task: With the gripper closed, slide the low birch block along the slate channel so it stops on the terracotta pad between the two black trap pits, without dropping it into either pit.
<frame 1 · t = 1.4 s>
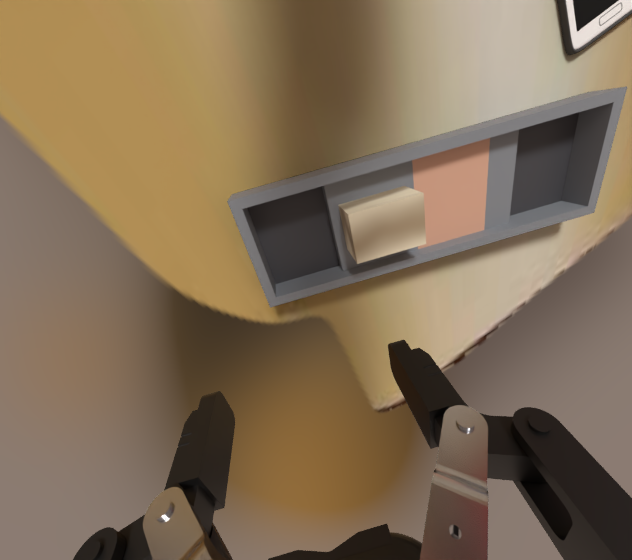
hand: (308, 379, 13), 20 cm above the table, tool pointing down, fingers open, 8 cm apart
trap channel: (415, 200, 31), on the table
birch block: (374, 218, 29), point 2 cm above the table, touching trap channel
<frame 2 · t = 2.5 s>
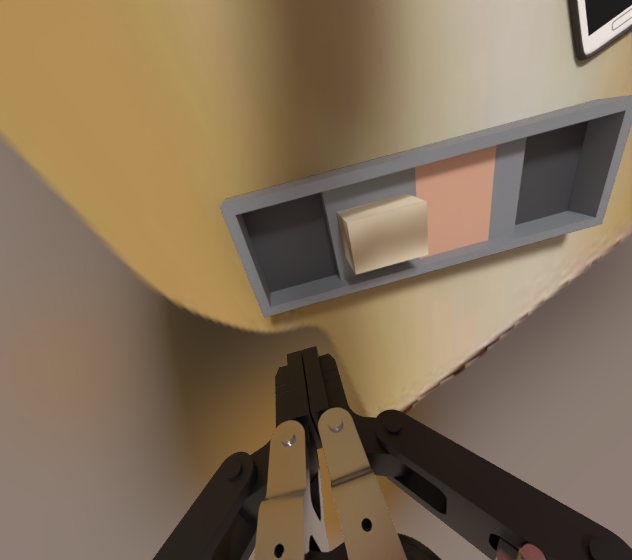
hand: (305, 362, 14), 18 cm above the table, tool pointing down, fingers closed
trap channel: (417, 208, 29), on the table
birch block: (374, 226, 28), point 2 cm above the table, touching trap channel
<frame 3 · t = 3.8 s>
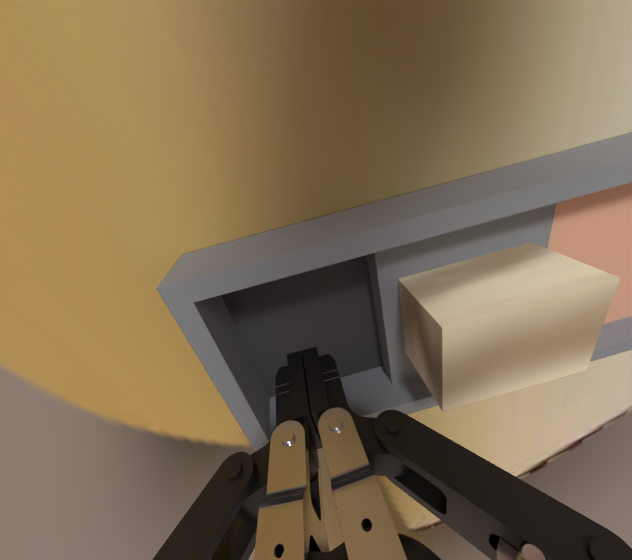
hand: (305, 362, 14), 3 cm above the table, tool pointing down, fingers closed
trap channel: (528, 259, 17), on the table
birch block: (463, 300, 15), point 2 cm above the table, touching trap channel
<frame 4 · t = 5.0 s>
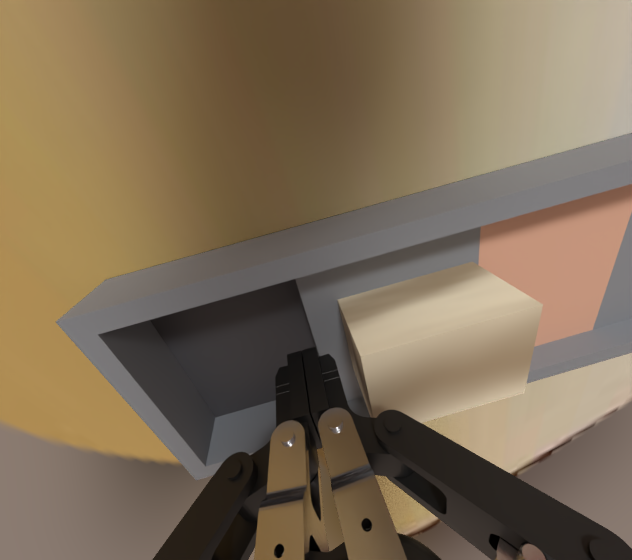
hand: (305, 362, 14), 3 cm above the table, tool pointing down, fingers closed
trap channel: (470, 278, 16), on the table
birch block: (408, 319, 15), point 2 cm above the table, touching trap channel
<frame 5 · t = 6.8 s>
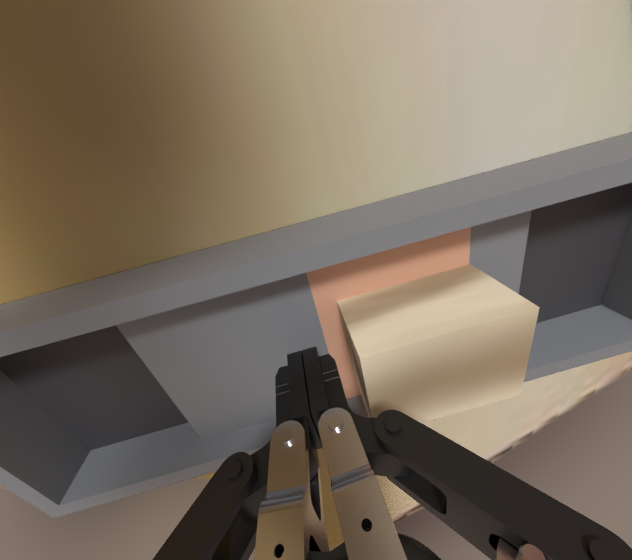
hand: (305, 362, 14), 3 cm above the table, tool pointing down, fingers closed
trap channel: (335, 314, 16), on the table
birch block: (407, 321, 15), point 2 cm above the table, touching gripper, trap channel
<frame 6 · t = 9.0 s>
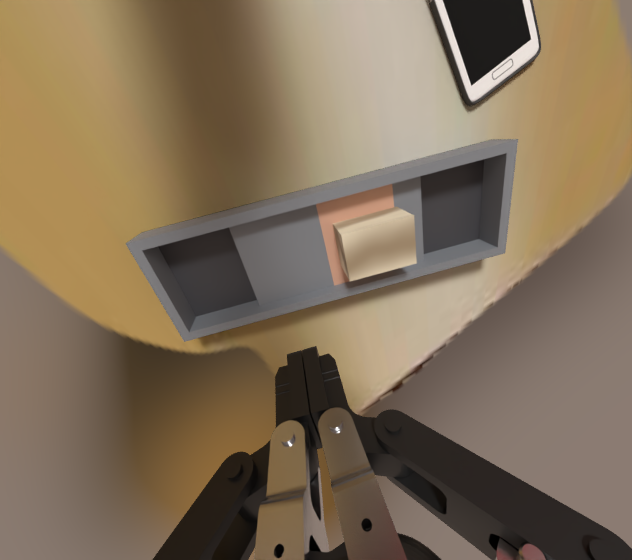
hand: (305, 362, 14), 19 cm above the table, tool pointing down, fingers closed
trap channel: (330, 238, 31), on the table
birch block: (367, 237, 30), point 2 cm above the table, touching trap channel
cell phone: (473, 1, 24), on the table
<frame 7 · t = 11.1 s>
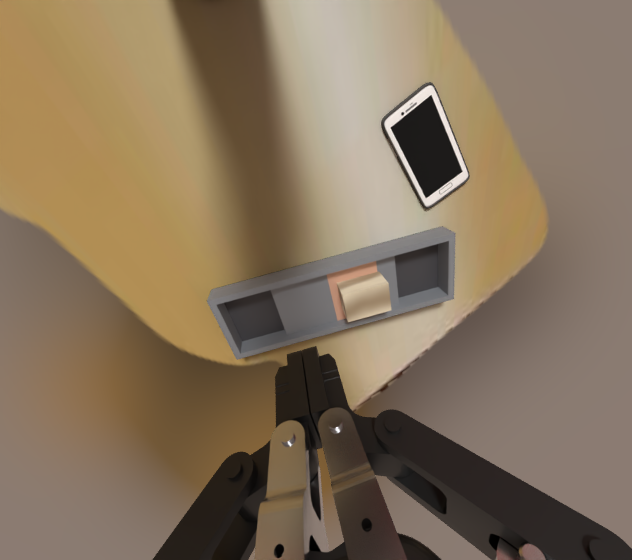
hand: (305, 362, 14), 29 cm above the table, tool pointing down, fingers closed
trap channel: (335, 289, 46), on the table
birch block: (360, 290, 44), point 2 cm above the table, touching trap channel
cell phone: (425, 151, 38), on the table
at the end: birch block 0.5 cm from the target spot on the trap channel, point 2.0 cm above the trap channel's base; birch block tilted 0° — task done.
